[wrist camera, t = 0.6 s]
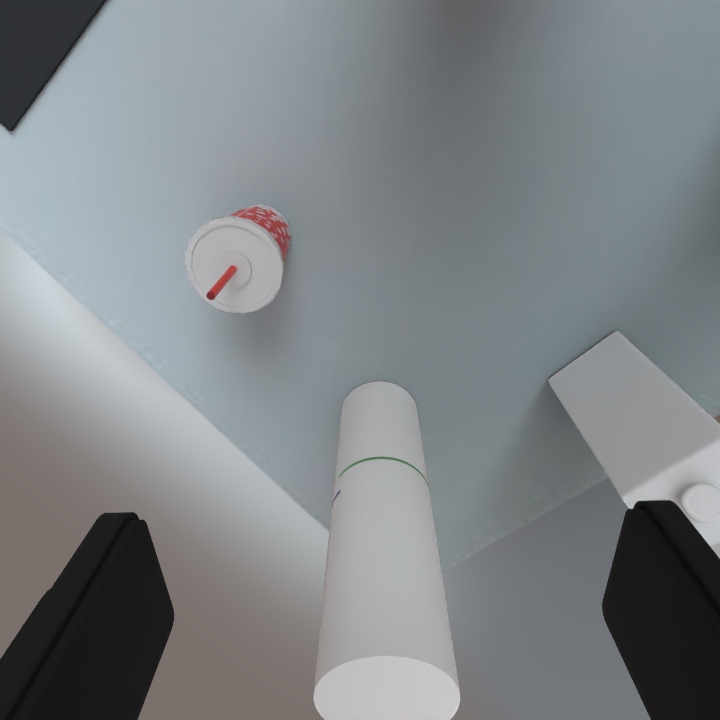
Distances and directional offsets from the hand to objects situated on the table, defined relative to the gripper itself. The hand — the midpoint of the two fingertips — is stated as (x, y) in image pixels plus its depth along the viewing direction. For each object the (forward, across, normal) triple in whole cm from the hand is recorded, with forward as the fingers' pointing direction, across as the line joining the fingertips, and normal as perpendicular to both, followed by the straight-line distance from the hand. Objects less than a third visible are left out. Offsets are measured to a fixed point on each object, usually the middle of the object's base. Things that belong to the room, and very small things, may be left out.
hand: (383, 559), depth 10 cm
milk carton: (+32, -20, +14) cm, 41 cm away
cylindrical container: (+32, 0, +17) cm, 37 cm away
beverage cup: (+32, +9, 0) cm, 33 cm away
